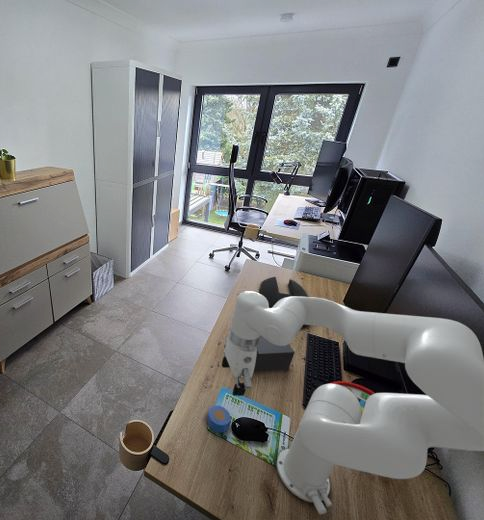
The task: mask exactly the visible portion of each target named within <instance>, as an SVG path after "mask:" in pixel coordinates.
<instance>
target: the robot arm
mask: <svg viewBox="0 0 484 520" xmlns="http://www.w3.org/2000/svg"><path fill="white" fill-rule="evenodd" d="M303 325H308V326H312V327H321V328H324V329H328V330H330V331H333V332H335V333H336V334H338V335H339V336H340V337H341V338H342V339H343V340H344V341H345V343H346V346H347V347H348V349H349V350H350V351H351V352H352V353H353V354H355V355H357V356H362V357H368V358H373V359H380V360H384V361H391V362H397V363H401V364H404V368H405V369H404V370H405V371H406V374H407V376H408V377H409V379H410V380H411V381H412V382H413V384H414V385H416V387H418V388H419V389H420V390H421V391H422V392H423V393H424V394H419V393H417V394H415V393H399V392H376V394H373V395H371V396H370V397H369V398H368V399H367V401H366V404H365V406H364V410H363V413H362V410H361V405H360V403H359V401H358V399H357V397H356V396H355V395H354V394H353V393H352V392H351V391H350V390H348V389H347V388H345V387H343V386H341V385H338V384H330V383H326V384H322V385H319V386H318V387H317V388H316V389H314V391H313V393H312V394H311V397H310V399H309V401H308V403H307V405H306V408H305V410H304V412H303V415H302V416H301V419H300V422H299V425H298V428H297V430H296V432H295V435H294V437H293V440H292V442H291V444H290V446H289V447H288V448H286V449H283V450H282V451H281V452H280V453H279V454H278V457H277V460H276V469H277V473H278V476H279V478H280V480H281V481H282V483H283V484H284V486H285V487H286V488H287V489H288V490H289V491H290V492H291V494H293V495H294V496H296V497H297V498H299V499H301V500H302V501H305V502H308V503H313V506H314V507H315V509H316V512H317V513H318V515H324V514H326V513H327V512H328V511H327V509H326V507H327V508H329V507H332V506H333V504H332V501H331V499H330V498H329V497H328V496H329V494H330V491H331V484H330V479H329V477H330V475H331V474H332V472H333V470H334V469H335V467H336V466H338V467H342V468H346V469H350V470H354V471H358V472H363V473H367V474H371V475H376V476H379V477H380V476H381V477H385V478H389V479H395V480H409V479H414V478H416V477H418V476H420V475H421V474H422V473H423V472H424V470H425V469H426V466H427V462H428V449H429V448H441V449H450V450H459V451H468V452H469V451H470V452H484V354H483V353H484V352H483V350H482V349H483V348H482V346H481V343H480V341H479V339H478V337H477V335H476V333H474V331H473V330H472V329H470V328H469V327H468V326H467V325H465V324H463V323H462V322H459V321H456V320H453V319H448V318H442V317H431V316H421V315H420V316H419V315H407V314H395V313H383V312H373V311H372V312H371V311H362V310H361V311H360V310H356V309H352V308H350V307H348V306H347V305H343V304H341V303H338V302H335V301H333V300H330V299H326V298H321V297H312V296H308V297H297V296H294V297H286V298H283V299H281V300H279V301H278V302H277V303H276V304H275V305H274V306H273V307H272V308H269V304H268V301H267V299H266V298H265V297H264V296H263V295H261V294H259V292H256V291H251V290H247V291H246V290H245V291H242V292H241V293H239V294H238V295H237V297H236V300H235V304H234V308H233V313H232V318H231V322H230V326H229V331H228V334H229V335H228V334H227V336H228V338H227V337H225V339H224V341H225V342H224V348H223V349H224V351H223V358H222V362H221V367H222V368H223V369H224V368H229V369H230V370H231V373H232V375H233V376H234V378H235V384H234V385H233V389H232V392H231V393H232V396H234V397H237V396H238V397H242V396H245V393H246V390H249V389H251V388H252V387H253V385H252V381H251V378H252V377H253V375H254V373H255V372H254V368H255V363H256V355H257V349H256V347H257V344H258V341H259V338H260V335H261V336H262V337H264V338H265V339H266V340H268V341H269V342H271V343H273V344H275V345H278V346H285V345H288V344H289V345H290V344H291V343H292V342H293V341H294V339H295V338H296V336H297V335H298V333H299V332H300V330H301V329H302V328H301V327H302V326H303ZM240 379H243V382H241V381H240ZM322 501H323V502H324V503H323V502H322ZM324 504H325V505H324ZM325 506H326V507H325Z"/></svg>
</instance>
